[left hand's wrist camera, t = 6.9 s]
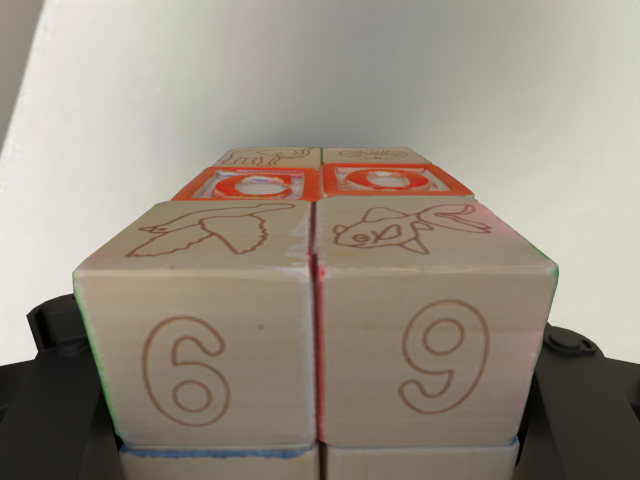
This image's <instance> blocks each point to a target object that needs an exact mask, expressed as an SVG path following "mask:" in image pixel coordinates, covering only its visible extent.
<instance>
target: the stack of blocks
mask: <svg viewBox="0 0 640 480" xmlns="http://www.w3.org/2000/svg"><path fill="white" fill-rule="evenodd" d="M474 195H475V194H474V193H473V192H472V191H471V190H469V189H468V188H467V187H465V186H464V185H463V184H461V183H460V182H459V181H457V180H456V179H455V178H453V177H452V176H450V175H449V174H448V173H446V172H445V171H443V170H442V169H441V168H439V167H438V166H435V165H433V164H432V163H431V162H429V161H428V160H426V159H425V158H423V157H422V156H421V155H419V154H417V153H416V152H415V151H413V150H412V149H410V148H317V147H253V148H238V149H233V150H230V151H229V152H227V153H226V154H225V155H224V156H223V157H222V158H220V159H219V160H218V161H217V162H216V163H215V164H214V165H213V166H212V167H209V168H206V169H205V170H203V172H202V173H200V174H199V175H198V176H197V177H195V178H194V179H193V180H192V181H191V182H190V183H188V184H187V185H186V186H185V187H184V188H182V189H181V190H180V191H179V192H178V193H177V194H176V195H175V196H174V197H173V198H172V199H171V201H166V202H162V203H158V204H155V205H154V206H153V207H152V208H151V209H150V210H149V211H147V212H146V213H145V214H143V215H142V216H141V217H140V218H138V219H137V220H136V221H134V222H133V223H132V224H130V225H129V226H128V227H126V228H125V229H124V230H122V231H121V232H120V233H119V234H117V235H116V236H115V237H114V238H112V239H111V240H110V241H108V242H107V243H106V244H105V245H103V246H102V247H101V248H99V249H98V250H97V251H95V252H94V253H93V254H92V255H90V256H89V257H88V258H86V259H85V260H84V261H83V262H82V263H81V264H80V265H79V266H78V267H77V268H76V269H75V270H74V272H73V275H72V278H73V291H74V296H75V299H76V301H77V304H78V307H79V309H80V312H81V316H82V319H83V323H84V326H85V330H86V333H87V336H88V340H89V343H90V347H91V350H92V353H93V357H94V360H95V363H96V367H97V370H98V373H99V377H100V381H101V385H102V389H103V393H104V397H105V400H106V403H107V406H108V409H109V412H110V415H111V417H112V420H113V424H114V429H115V433H116V434H117V435H118V436H119V438H120V439H121V440H122V441H123V442H122V445H121V448H120V451H119V458H120V465H121V468H122V471H123V474H124V477H125V480H511V478H512V474H513V471H514V467H515V463H516V459H517V455H518V451H519V446H520V444H519V441H518V438H517V435H516V434H517V433H518V430H519V426H520V423H521V420H522V416H523V412H524V409H525V405H526V401H527V398H528V394H529V389H530V385H531V380H532V375H533V372H534V369H535V366H536V362H537V359H538V356H539V354H540V351H541V348H542V341H543V333H544V328H545V326H546V323H547V320H548V317H549V313H550V309H551V305H552V302H553V298H554V294H555V291H556V287H557V284H558V277H559V270H558V265H557V264H556V263H555V262H554V261H552V260H551V259H550V258H549V257H547V256H546V255H545V254H544V253H542V252H541V251H540V250H539V249H537V248H536V247H535V246H534V245H532V244H531V243H530V242H529V241H528V240H526V239H525V238H524V237H523V236H522V235H520V234H519V233H518V232H517V231H515V230H514V229H513V228H511V227H510V226H509V225H508V224H506V223H505V222H504V221H502V220H501V219H500V218H499V217H497V216H496V215H495V214H494V213H493V212H492V211H490V210H489V209H488V208H486V207H485V206H484V205H482V204H480V203H479V202H478V201H477V200H476V199H474Z"/></svg>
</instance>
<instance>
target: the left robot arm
mask: <svg viewBox="0 0 640 480" xmlns="http://www.w3.org/2000/svg"><path fill="white" fill-rule="evenodd" d="M26 316H27V319H28V322H29V325H30V328H31V331H32V334H33V337H34V340H35V343H36V347H37V350H38V353H37V355H36V357H35V359H34V360H29V361H24V362H19V363H14V364H8V365H3V366H0V480H125V477H124V474H123V471H122V468H121V465H120V458H119V451H120V448H121V445H122V442H123V441H122V440H121V439H120V438H119V436H118V435H117V434H116V433H115V429H114V424H113V420H112V417H111V415H110V412H109V409H108V406H107V403H106V400H105V397H104V393H103V389H102V385H101V381H100V377H99V373H98V370H97V367H96V363H95V360H94V357H93V353H92V350H91V347H90V343H89V340H88V336H87V333H86V330H85V326H84V323H83V319H82V316H81V312H80V309H79V307H78V304H77V301H76V299H75V296H74V293H73V294H68V295H63V296H59V297H57V298H54V299H51V300H48V301H46V302H44V303H42V304H40V305H39V306H37V307H35V308H34V309H33V310H31V311H30V312H29V313H28V314H27V315H26ZM516 435H517V438H518V441H519V444H520V446H519V451H518V455H517V459H516V463H515V467H514V471H513V474H512V478H511V480H640V364H636V363H631V362H626V361H621V360H615V359H610V358H606V357H605V356H604V355H603V353H602V351H601V350H600V349H599V348H598V346H597V345H596V344H595V343H594V342H592V341H591V340H589V339H588V338H586V337H585V336H583V335H581V334H578V333H576V332H574V331H571V330H568V329H564V328H560V327H556V326H551V325H550V324H549V323H548V322H547V323H546V326H545V328H544V333H543V341H542V348H541V351H540V354H539V356H538V359H537V362H536V366H535V369H534V372H533V375H532V380H531V385H530V389H529V394H528V398H527V401H526V405H525V409H524V412H523V416H522V420H521V423H520V426H519V430H518V433H517V434H516Z"/></svg>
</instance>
